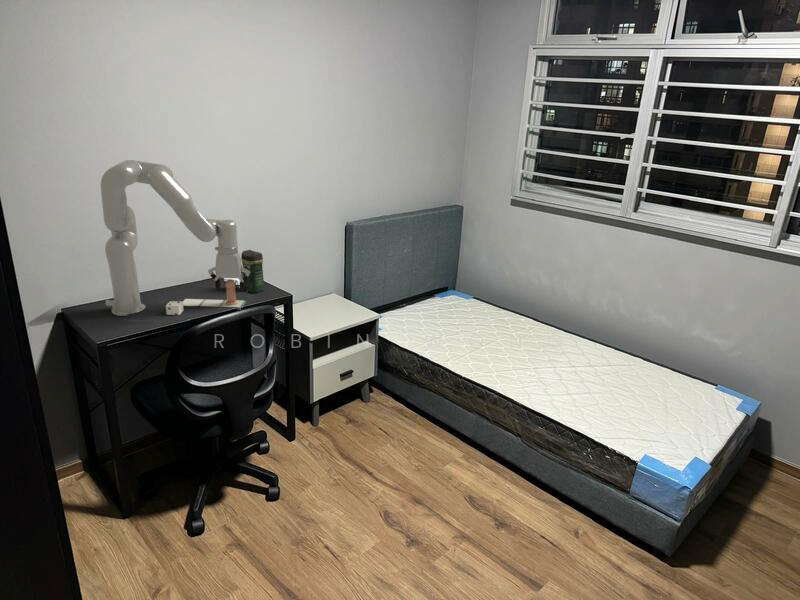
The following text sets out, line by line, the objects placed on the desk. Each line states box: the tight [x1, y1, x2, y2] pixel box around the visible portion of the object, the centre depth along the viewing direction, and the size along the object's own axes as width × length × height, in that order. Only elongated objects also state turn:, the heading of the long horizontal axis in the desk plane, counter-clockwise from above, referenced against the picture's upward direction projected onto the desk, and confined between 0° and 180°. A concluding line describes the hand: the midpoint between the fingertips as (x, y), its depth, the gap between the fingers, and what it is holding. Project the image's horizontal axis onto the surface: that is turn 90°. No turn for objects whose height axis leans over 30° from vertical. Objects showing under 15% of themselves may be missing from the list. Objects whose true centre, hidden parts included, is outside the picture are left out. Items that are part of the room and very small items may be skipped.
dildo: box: [224, 279, 238, 305], centre depth 236 cm, size 5×5×11 cm
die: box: [165, 300, 185, 316], centre depth 226 cm, size 5×5×5 cm
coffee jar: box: [240, 249, 265, 294], centre depth 255 cm, size 10×8×19 cm
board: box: [183, 298, 247, 311], centre depth 238 cm, size 26×9×1 cm, turn 91°
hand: (230, 289), depth 236 cm, fingers open, 9 cm apart
